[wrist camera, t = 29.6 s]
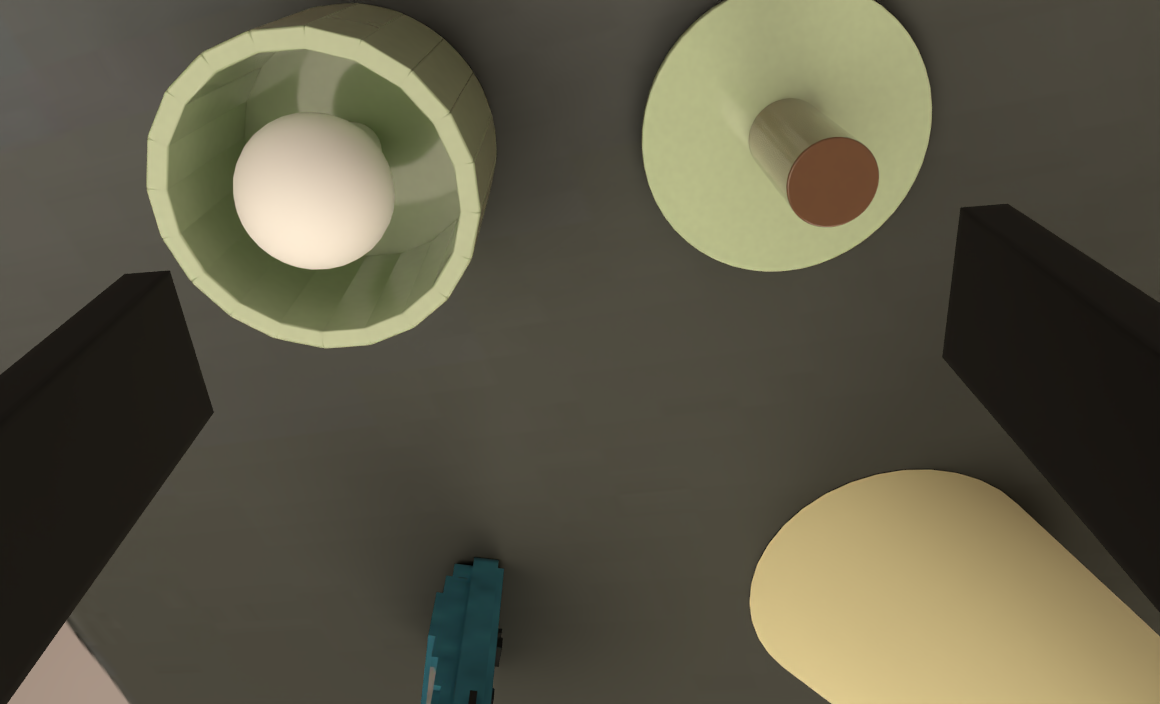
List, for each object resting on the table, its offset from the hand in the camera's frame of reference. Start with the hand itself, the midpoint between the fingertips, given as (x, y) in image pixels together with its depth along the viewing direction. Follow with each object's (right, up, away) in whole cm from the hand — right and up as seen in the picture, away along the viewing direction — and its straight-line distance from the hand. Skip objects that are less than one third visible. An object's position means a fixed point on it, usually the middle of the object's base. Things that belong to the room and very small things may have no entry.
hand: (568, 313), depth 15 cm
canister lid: (+10, +10, +27) cm, 30 cm away
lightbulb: (-10, +9, +27) cm, 30 cm away
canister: (-10, +9, +27) cm, 31 cm away
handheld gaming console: (-7, -17, +41) cm, 45 cm away
